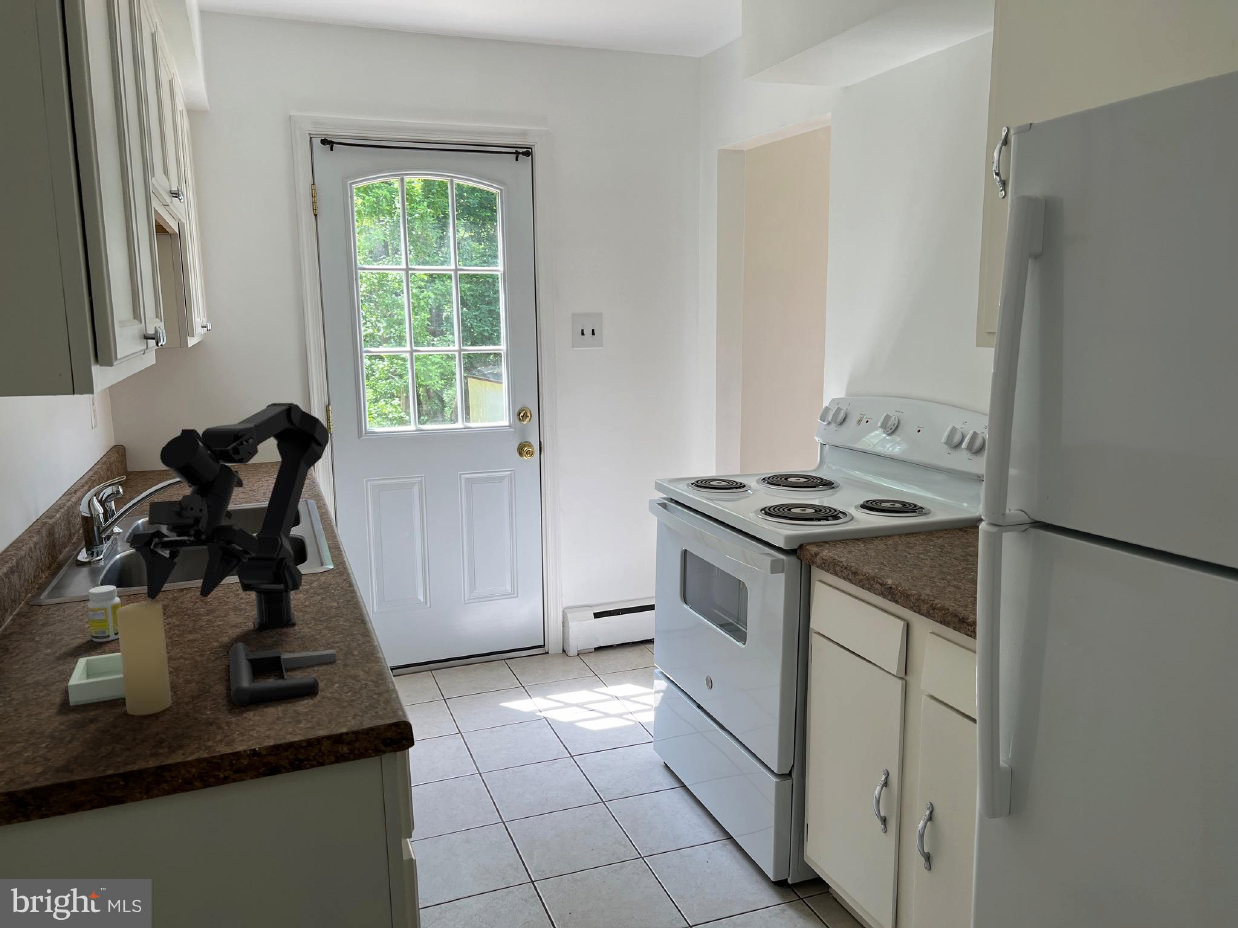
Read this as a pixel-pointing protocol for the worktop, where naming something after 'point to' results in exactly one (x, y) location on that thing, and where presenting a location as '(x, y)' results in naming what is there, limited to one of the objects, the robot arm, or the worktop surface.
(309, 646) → the worktop surface
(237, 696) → the door handle
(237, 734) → the worktop surface
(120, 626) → the tan rounded cylinder
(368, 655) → the worktop surface
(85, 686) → the tray
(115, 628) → the supplement bottle
